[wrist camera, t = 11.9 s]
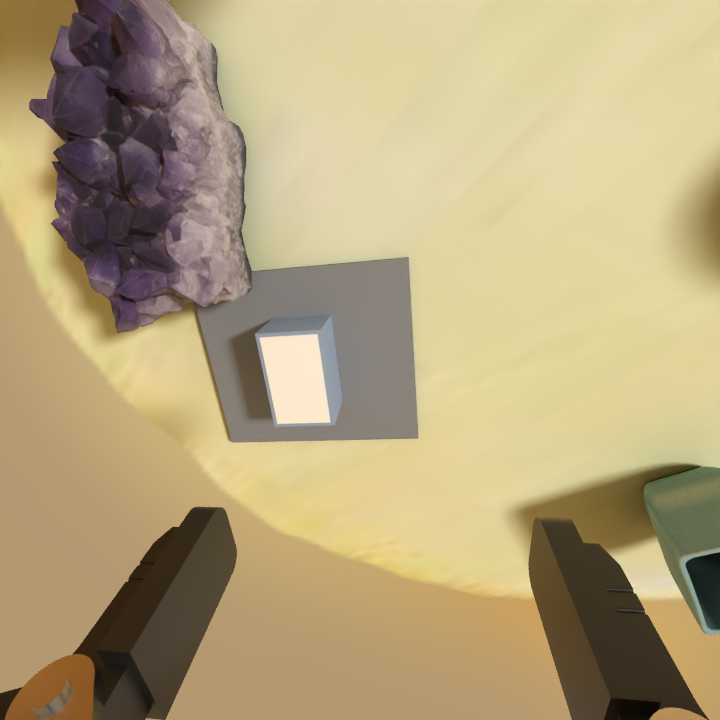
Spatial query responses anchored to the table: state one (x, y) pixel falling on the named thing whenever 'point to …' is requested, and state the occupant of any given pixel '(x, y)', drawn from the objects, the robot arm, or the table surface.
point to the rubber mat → (352, 342)
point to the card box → (300, 370)
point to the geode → (146, 161)
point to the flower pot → (690, 537)
